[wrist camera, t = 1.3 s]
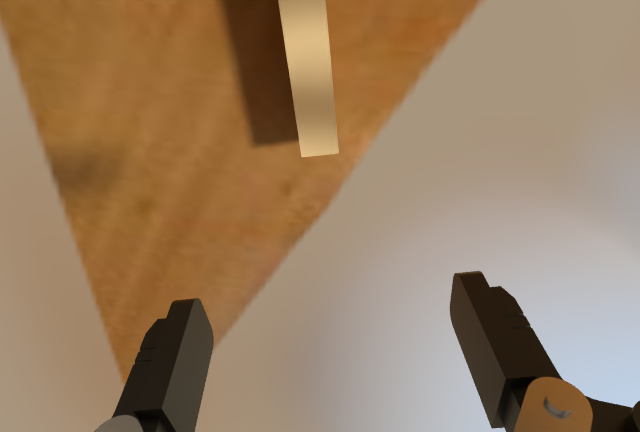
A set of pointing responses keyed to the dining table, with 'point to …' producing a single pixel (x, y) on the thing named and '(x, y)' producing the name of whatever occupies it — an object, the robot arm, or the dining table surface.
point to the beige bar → (310, 74)
